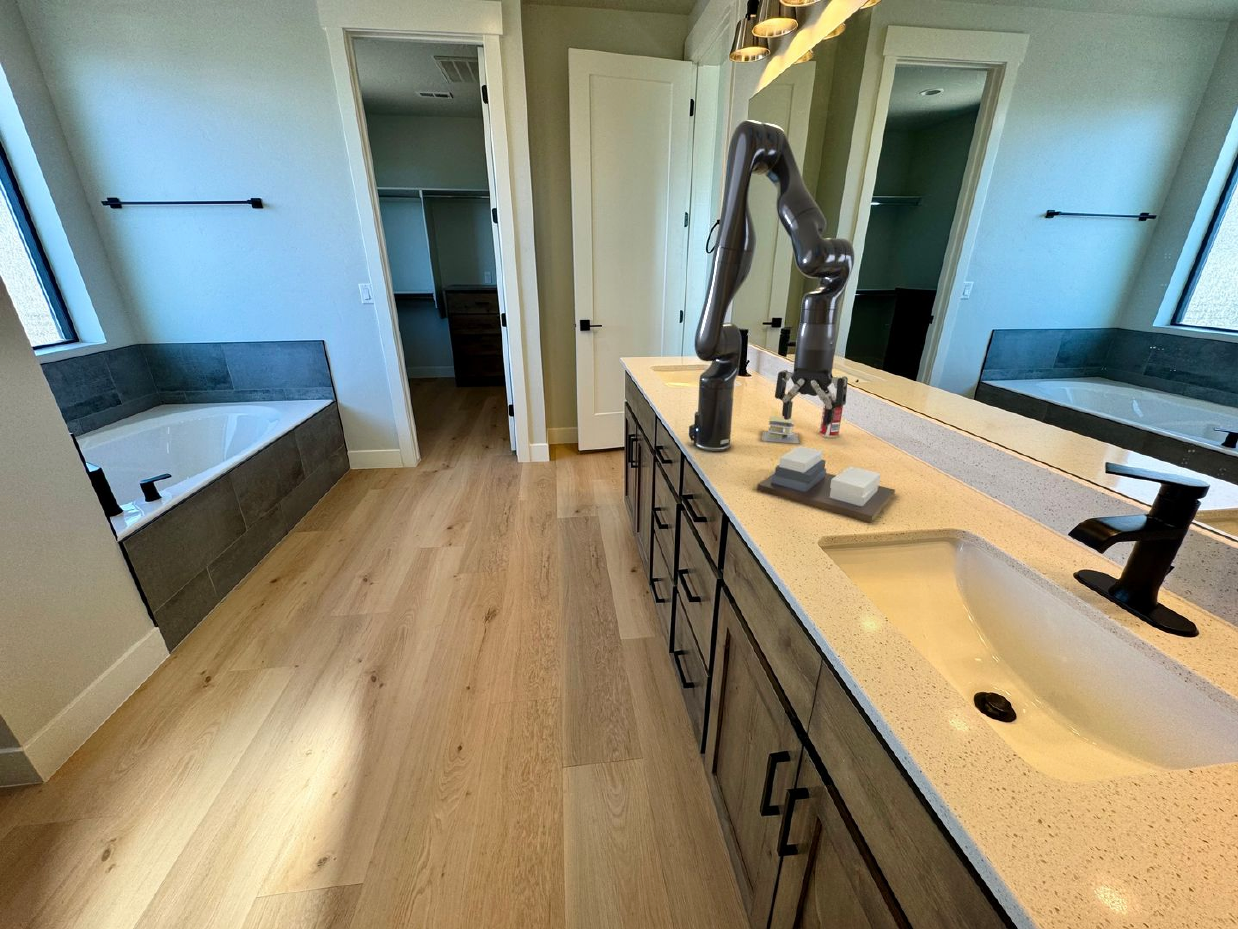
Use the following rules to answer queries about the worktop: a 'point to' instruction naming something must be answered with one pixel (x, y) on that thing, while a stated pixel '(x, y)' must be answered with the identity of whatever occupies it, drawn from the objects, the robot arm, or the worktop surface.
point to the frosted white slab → (800, 459)
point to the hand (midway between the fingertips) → (806, 422)
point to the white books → (854, 485)
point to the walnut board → (821, 498)
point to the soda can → (834, 427)
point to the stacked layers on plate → (780, 431)
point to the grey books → (799, 477)
